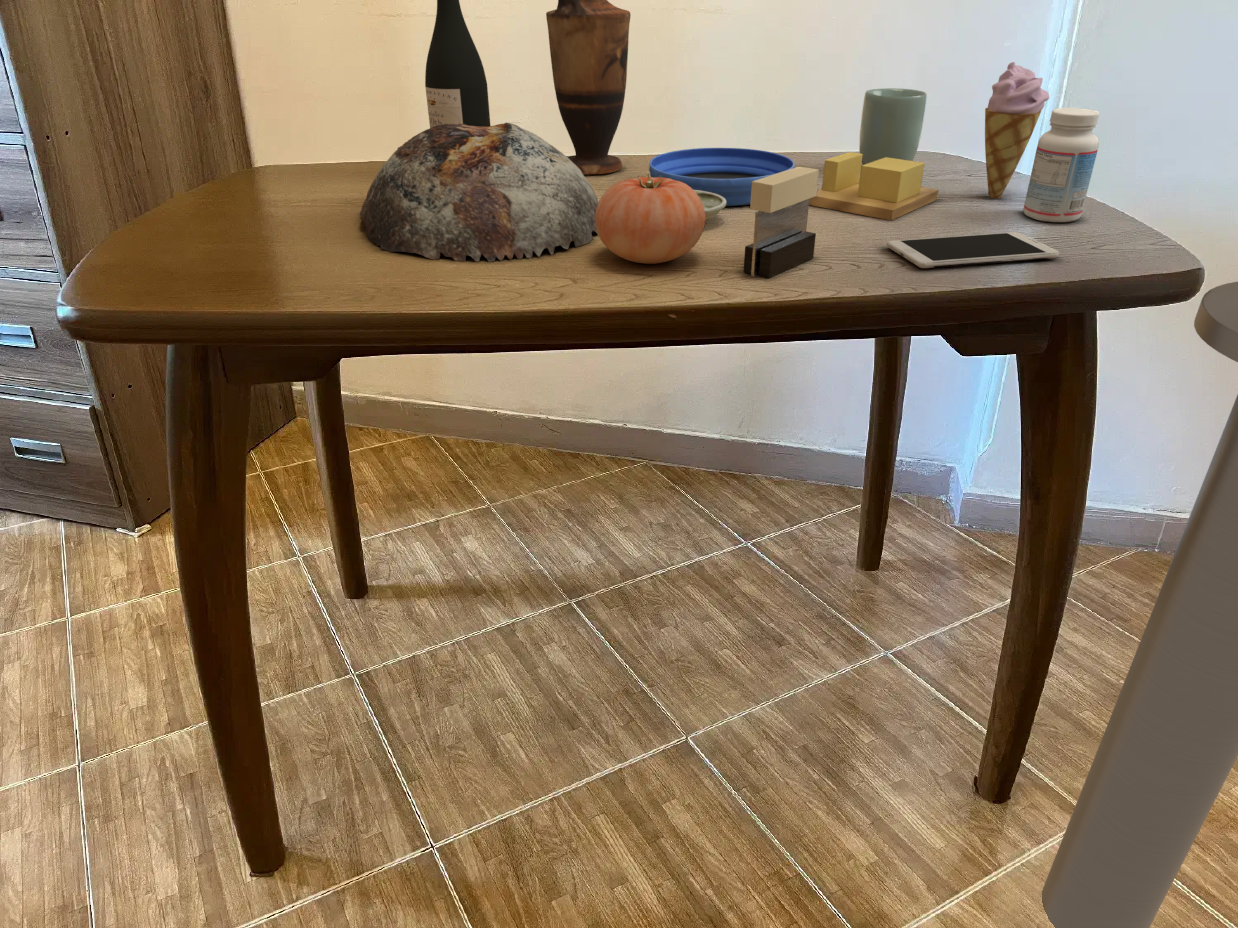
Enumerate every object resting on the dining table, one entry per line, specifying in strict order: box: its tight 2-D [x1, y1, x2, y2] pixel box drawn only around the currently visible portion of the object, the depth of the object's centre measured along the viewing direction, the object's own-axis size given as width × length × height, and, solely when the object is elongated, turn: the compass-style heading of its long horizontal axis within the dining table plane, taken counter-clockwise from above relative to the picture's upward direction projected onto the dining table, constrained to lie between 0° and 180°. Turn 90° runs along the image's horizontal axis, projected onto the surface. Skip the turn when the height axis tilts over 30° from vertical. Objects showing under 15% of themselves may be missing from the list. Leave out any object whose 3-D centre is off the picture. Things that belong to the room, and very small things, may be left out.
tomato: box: [595, 173, 706, 265], centre depth 85 cm, size 11×11×8 cm
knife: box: [749, 166, 820, 278], centre depth 83 cm, size 2×9×8 cm, turn 138°
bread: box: [359, 122, 599, 263], centre depth 98 cm, size 27×32×10 cm
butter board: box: [809, 178, 939, 221], centre depth 105 cm, size 11×12×1 cm
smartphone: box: [886, 231, 1060, 269], centre depth 87 cm, size 8×1×15 cm
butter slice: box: [821, 151, 863, 192], centre depth 106 cm, size 2×6×4 cm, turn 138°
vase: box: [545, 0, 631, 176], centre depth 114 cm, size 11×11×30 cm
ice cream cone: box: [984, 61, 1050, 199], centre depth 103 cm, size 7×6×15 cm
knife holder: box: [743, 230, 817, 279], centre depth 84 cm, size 3×8×2 cm, turn 138°
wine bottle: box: [424, 0, 491, 129], centre depth 112 cm, size 8×8×30 cm
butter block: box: [858, 157, 926, 203], centre depth 103 cm, size 5×6×4 cm
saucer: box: [694, 190, 727, 221], centre depth 98 cm, size 10×10×2 cm
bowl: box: [648, 147, 796, 207], centre depth 110 cm, size 18×18×4 cm
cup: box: [858, 88, 928, 165], centre depth 117 cm, size 8×8×10 cm
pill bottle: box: [1023, 107, 1100, 223], centre depth 96 cm, size 6×6×11 cm
